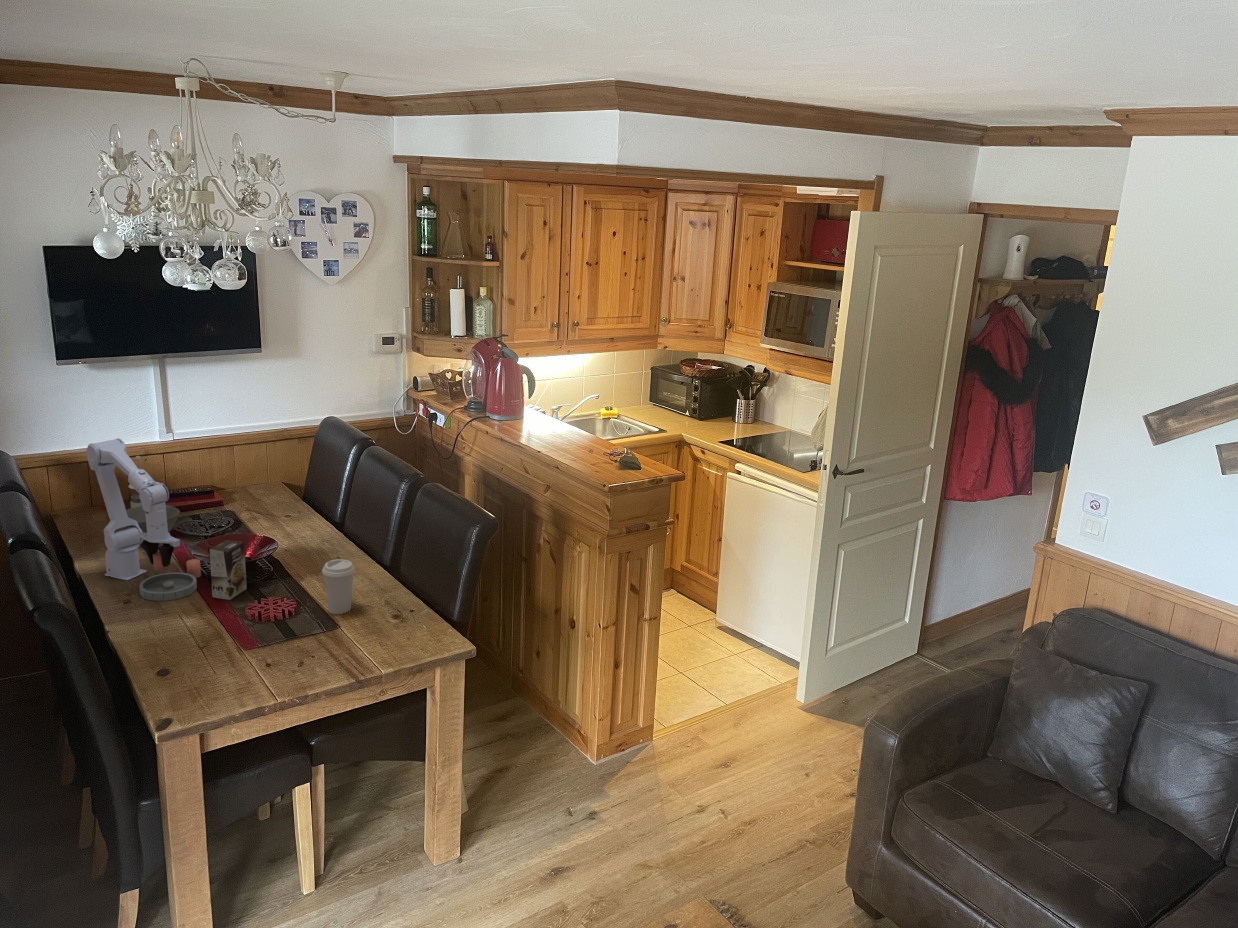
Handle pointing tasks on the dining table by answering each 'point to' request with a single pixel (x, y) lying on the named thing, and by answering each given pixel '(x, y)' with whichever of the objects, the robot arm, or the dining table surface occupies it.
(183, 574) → the round tray
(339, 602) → the coffee cup
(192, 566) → the bead
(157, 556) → the bead
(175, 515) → the bowl
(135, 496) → the french press
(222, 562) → the coffee box
